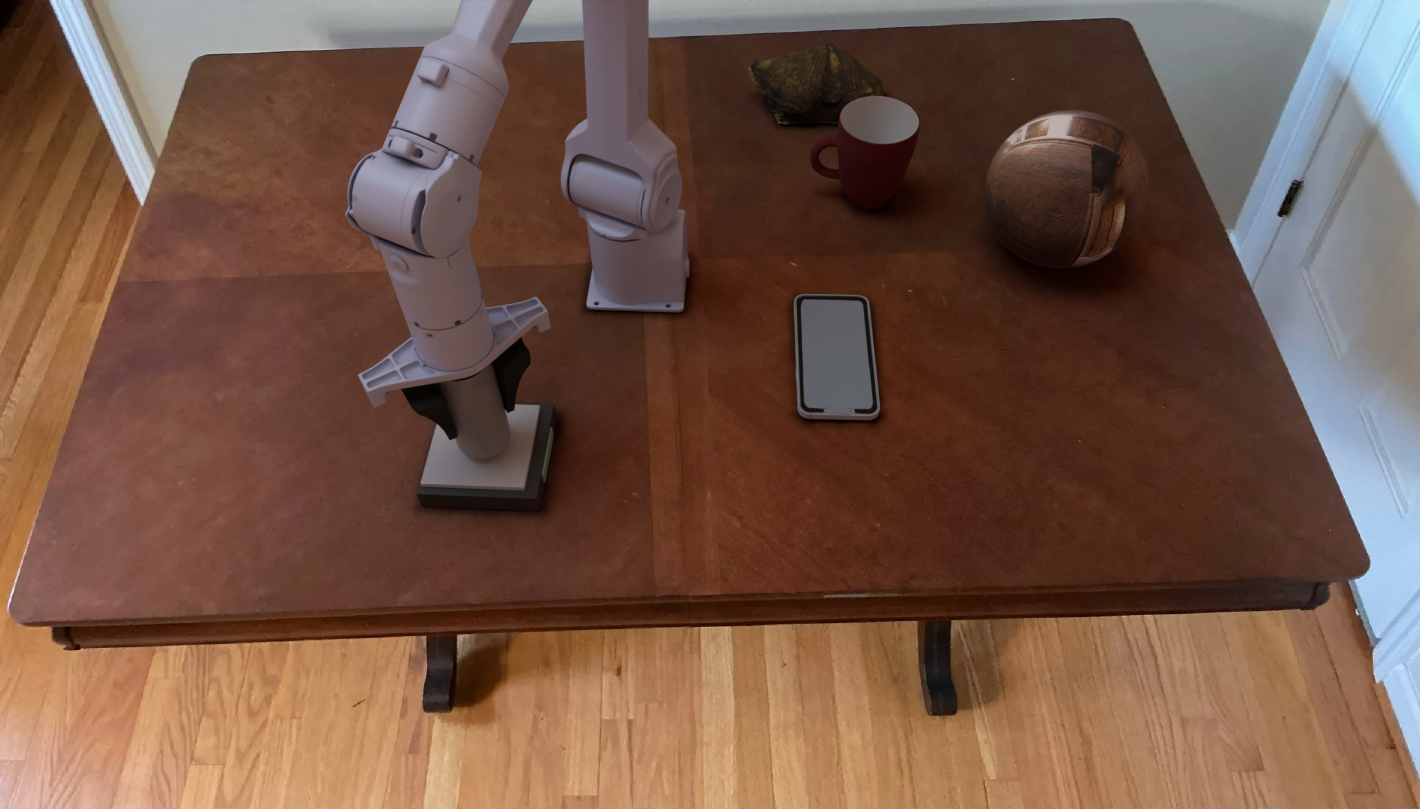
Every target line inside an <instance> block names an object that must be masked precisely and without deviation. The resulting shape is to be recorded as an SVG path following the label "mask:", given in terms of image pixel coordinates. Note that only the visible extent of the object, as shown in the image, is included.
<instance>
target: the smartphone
mask: <svg viewBox="0 0 1420 809" xmlns="http://www.w3.org/2000/svg"><path fill="white" fill-rule="evenodd" d="M870 307H871V306H870V301H869V299H868V298H867V297H866V296H864V295H862V294H861V295H860V294H827V293H826V294H825V293H823V294H820V293H819V294H817V293H813V294H812V293H801V294H799V295H797V296H796V297H795V298H794V299H793V320H794V321H793V322H794V348H795V350H794V351H795V383H796V401H797V402H796V404H797V405H796V406H797V412H798V414H799V415H800V416H801V417H802V418H804V419H807V420H840V421H841V420H842V421H843V420H850V421H872V420H874V419H876V418H877V417H878V416H879V414H880V410H881V405H880V404H881V403H880V394H879V384H878V374H877V373H878V372H877V364H876V355H875V347H874V337H873V326H872V318H871V317H872V316H871V308H870Z"/></svg>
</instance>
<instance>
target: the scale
mask: <svg viewBox="0 0 1420 809" xmlns="http://www.w3.org/2000/svg"><path fill="white" fill-rule="evenodd" d="M505 411H506V410H505ZM506 415H507V418H508V422H509V426H510V431H511V437H510V441H509V443H508V445H507V446H506V448H505V449H504V450H503V451H501V452H500V453H499V454H497V455H495V456H492V457H490V458H484V459H476V458H471V457H469V456H467V455H465V454H464V453H462V452H461V450H460V449H459V447H458V445H457V443H456V440H455V439H453V440H449V439H448V437H447V435H446V434H445V432H444V430H443V429H442V428H441V427H440V426H438V425H437V424H436V423H435V425H434V428H433V432H432V435H431V438H430V443H429V445H428V449H427V454H426V457H425V461H424V465H423V468H422V472H421V475H420V479H419V482H418V486H417V490H416V496H417V499H418V501H419V503H420V506H421V507H424V508H447V509H474V510H497V511H498V510H501V511H522V512H523V511H527V512H540V511H541V507H542V503H543V502H542V501H543V496H544V491H545V486H546V480H547V475H548V469H549V464H550V459H551V458H550V457H551V452H552V447H553V442H554V436H555V429H556V425H557V418H558V414H557V409H556V406H555V403H554V402H539V401H538V402H537V401H535V402H534V401H515V409H514V411H511V412H509V413H507V411H506Z"/></svg>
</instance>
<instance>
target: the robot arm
mask: <svg viewBox="0 0 1420 809" xmlns="http://www.w3.org/2000/svg"><path fill="white" fill-rule="evenodd" d="M533 1H534V0H460V1H459V2H460V3H459V6H458V9H457V12H456V15H455V18H454V21H453V24H452V26H451V31H450V34H448V35H446V36H444V37H441V38H438V39H436V40H434V41H430V42H429V43H427V44H426V45H425V46H424V47H423V50H422V52H421V55H420V57H419V59H418V61H417V64H416V66H415V69H414V70H413V74H412V76H411V78H410V81H409V83H408V86H407V88H406V90H405V92H404V94H403V97H402V100H401V102H400V105H399V106H398V109H397V112H396V114H395V116H394V118H393V121H392V124H391V126H390V128H389V130H388V132H387V135H386V137H385V140H384V143H383V144H382V147H381V148H380V149H378V150H376V151H373V152H370V153H368V154H366V155H365V156H364V157H363V158H362V159H361V160H360V161H359V162H358V163H357V164H356V166H355V167H354V169H353V171H352V173H351V175H350V178H349V181H348V185H347V194H346V196H347V199H346V200H347V206H348V207H347V210H346V211H345V212H344V216H345V219H346V221H347V222H348V224H349V225H350V226H351V227H352V228H353V229H354V230H355V231H358V232H359V233H362V234H364V235H367V236H368V238H369V239H370V241H371V243H372V246H373V250H375V251H378V252H380V254H381V256H382V259H383V262H384V264H385V268H386V270H387V273H388V276H389V278H390V282H391V284H392V287H393V289H394V293H395V296H396V298H397V301H398V303H399V306H400V309H401V311H402V313H403V317H404V320H405V323H406V326H407V328H408V331H409V334H410V336H411V337H409V338H408V339H407V340H405V341H404V342H403V343H402V344H400V345H398V347H397V348H395V349H394V350H393V351H392V352H390V353H389V354H388V355H386V356H385V357H384V358H383V359H381V360H380V361H379V362H378V363H376V364H375V365H373V366H372V367H370V368H368V369H366V370H364V371H362V372H360V373H358V374H357V376H358V379H359V381H360V383H361V385H362V388H363V390H364V393H365V394H366V396H367V397H368V400H369V401H370V403H371V405H372V406H373V408H377V407H379V406H383V405H384V404H386V403H387V402H388V398H387V396H388V395H390V394H393V393H394V392H397V391H399V390H400V391H401V392H402V394H403V395H404V397H405V399H406V401H407V403H408V404H409V406H410V408H411V409H412V410H413V412H415V413H416V414H417V415H418V416H421V417H424V418H426V419H428V420H430V421H432V422H433V423H435V424H437V425H438V426H440V427H441V428H442V429H443V430H444V432H445V434H446V435H447V437H448V439H449V440H453V439H455V438H457V437H458V435H457V431H456V429H455V427H454V425H453V423H452V421H451V419H450V416H449V412H448V407H447V401H446V399H445V398H444V396H443V394H442V393H441V391H440V389H439V388H438V386H437V383H438V382H444V381H450V380H456V379H461V378H466V377H469V376H472V375H474V374H476V373H478V372H480V371H481V370H483V369H484V368H485V367H487V366H488V365H489V364H490V363H491V362H492V363H493V367H494V370H495V374H496V378H497V381H498V385H499V389H500V393H501V396H502V400H503V404H504V407H505V410H506V411H507V413H509V412H511V411H514V409H515V402H516V401H517V400H516V399H517V393H518V389H519V385H520V383H521V380H522V378H523V376H524V374H525V373H526V371H527V369H528V368H529V367H530V366H531V362H532V359H531V358H532V357H531V352H530V350H529V348H528V347H527V346H526V344H525V343H524V341H523V336H524V335H525V334H526V333H528V332H531V331H533V330H536V332H537V333H543V332H545V331H548V330H550V329H551V328H552V326H551V321H550V315H549V311H548V309H547V307H545V306H544V304H543V302H542V301H541V300H540V299H539V298H538V296H534V297H531V298H528V299H525V300H523V301H518V302H514V303H508V304H502V305H496V306H489V307H487V305H486V301H485V296H484V293H483V290H482V286H481V282H480V278H479V274H478V270H477V266H476V263H475V258H474V255H473V251H472V248H471V243H470V239H469V235H470V234H471V231H472V229H473V227H474V226H475V224H476V221H477V217H478V214H479V206H480V205H479V204H480V198H479V197H480V196H479V192H480V190H479V189H480V185H481V183H482V181H483V178H482V175H483V171H482V170H481V169H480V168H479V167H478V164H479V163H480V160H481V158H482V155H483V153H484V151H485V148H486V146H487V143H488V141H489V138H490V136H491V133H492V131H493V129H494V126H495V124H496V122H497V119H498V118H499V114H500V112H501V109H502V108H503V105H504V103H505V99H506V97H507V95H508V93H509V90H510V83H509V80H508V76H507V72H506V70H505V67H504V63H503V59H504V56H505V55H506V53H507V50H508V49H509V47H510V45H511V43H512V41H513V39H514V37H515V36H516V33H517V31H518V29H520V26H521V24H522V22H523V20H524V18H525V16H526V15H527V12H528V10H529V8H530V6H531V4H532V2H533ZM581 5H582V6H581V8H582V30H583V50H584V52H583V53H584V55H583V56H584V76H585V97H586V98H585V100H586V119H584V120H582V121H581V122H579V123H578V124H577V125H576V126H575V127H573V129H572V130H571V131H570V133H569V134H568V135H567V137H566V139H565V141H564V146H565V148H564V149H565V151H564V160H563V163H562V166H561V171H560V188H561V191H562V192H561V193H562V196H563V198H564V200H565V201H566V203H568V204H570V205H574V206H577V212H578V217H579V218H581V219H583V220H584V221H585V222H586V228H587V237H588V244H589V252H590V259H591V260H590V261H591V268H592V269H591V274H590V280H589V287H588V292H587V299H586V304H585V305H586V308H587V309H588V310H596V311H624V312H625V311H626V312H627V311H629V312H653V313H654V312H655V313H656V312H657V313H681V312H683V311H684V309H685V298H686V288H687V278H688V279H689V277H690V266H691V265H690V264H691V263H690V261H691V260H690V258H689V255H688V227H687V226H688V225H687V211H686V210H685V209H682V208H681V209H680V208H679V206H680V204H681V200H682V195H683V185H684V184H683V178H682V174H681V171H680V168H679V162H678V147H677V146H676V144H675V143H674V142H673V141H672V140H671V139H670V138H669V137H668V136H667V135H666V133H664V132H663V131H662V130H661V129H660V128H659V127H658V126H657V125H656V124H655V123H654V122H653V121H652V120H651V118H650V117H649V51H650V50H649V45H650V44H649V38H650V37H649V34H650V31H649V28H650V25H649V23H650V20H649V19H650V18H649V17H650V13H649V12H650V6H649V5H650V0H581Z"/></svg>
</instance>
